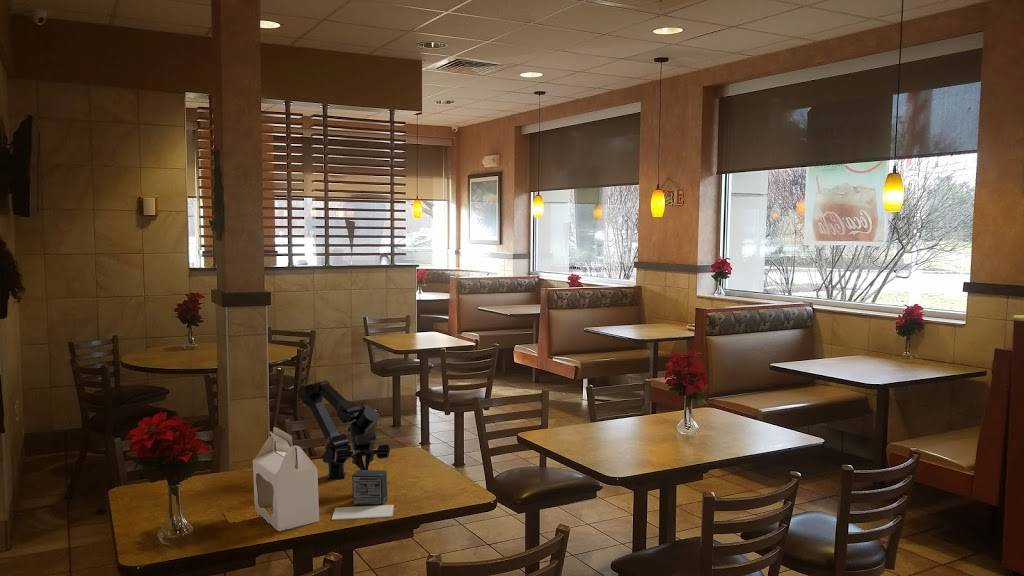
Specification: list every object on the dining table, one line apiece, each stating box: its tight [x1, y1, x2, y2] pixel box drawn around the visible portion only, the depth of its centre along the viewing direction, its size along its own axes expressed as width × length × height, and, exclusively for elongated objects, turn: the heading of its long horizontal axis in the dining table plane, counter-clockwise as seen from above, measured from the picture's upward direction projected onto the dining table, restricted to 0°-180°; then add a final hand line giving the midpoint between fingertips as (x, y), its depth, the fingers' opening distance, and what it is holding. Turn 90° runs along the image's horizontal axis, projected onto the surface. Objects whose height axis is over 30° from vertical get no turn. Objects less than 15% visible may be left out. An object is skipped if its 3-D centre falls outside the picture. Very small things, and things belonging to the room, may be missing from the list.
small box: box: [351, 469, 389, 506], centre depth 255 cm, size 11×6×10 cm, turn 84°
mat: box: [331, 504, 395, 521], centre depth 246 cm, size 10×19×1 cm, turn 96°
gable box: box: [252, 426, 320, 532], centre depth 243 cm, size 22×13×28 cm, turn 37°
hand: (365, 475), depth 262 cm, fingers closed
